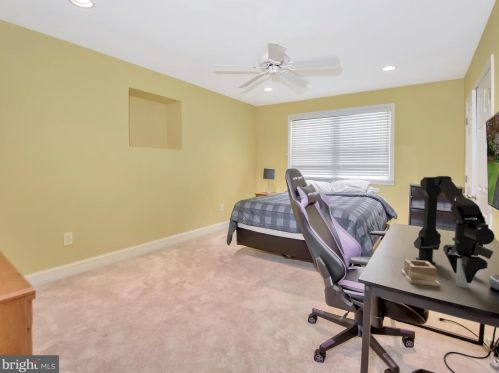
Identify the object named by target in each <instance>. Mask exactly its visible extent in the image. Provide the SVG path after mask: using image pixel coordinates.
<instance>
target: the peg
mask: <svg viewBox="0 0 499 373" xmlns="http://www.w3.org/2000/svg"><path fill="white" fill-rule="evenodd" d="M461 264H462V258H458V259H457V273H456V277H455V280H456V281H455V285H456V286H457V287H458V288H463V289H467V288H468V287H469V283H467V281H466V278H465V275H464V272H463V269H462V265H461Z"/></svg>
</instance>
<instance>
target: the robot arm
mask: <svg viewBox="0 0 499 373" xmlns="http://www.w3.org/2000/svg"><path fill="white" fill-rule="evenodd" d="M419 184H420V191H421V192H422V194H423V196H424V205H423V226H422V227H421V229H420V230H419V231H418V234H417V235H418V236H417V238H416V239H415V240H414V242H413V246H414V248H416V249H417V250H418V257H415V260H421V261H428V262H429V263H431V264H432V265H437V262H435V261H434V250H435V251H439V249H440V246H441V243H442V242H441V238H442V235H441V233H440V232H438V229H437V215H438V200H439V198H438V197H440V195H441V194H442V193H443V194H444V196H445V197H446V199H447V200H448V202H449V203H450V204H451V205H450V211H451V213H452V215H453V217H454V219H452V223H455V224H454V225H455V227H454V228H455V229H454V237H452V241H454V244H444V246H443V247H442V248H443V249H442V250H443V252H444V254H445V257H446V258H447V260H448V262H449V264H450V267H451V269H452V271H453V273H454V274H457V259H458V258H462V264H461V265H462V269H463V272H464V275H465V278H466V281H467V283H468V284H471V283H472V282H473V280H474V278H475V276H476V275H477V274H478V272H479V271H480V270H481V271H482V270H485V269H488V268H489V267H488V266H489V264H488V262H487V261H486V260H485V259H484V258H486V259H487V260H491V258H492V256H493V254H494V250H491V249H489V248H487V247H485V245H489V244H491V243H493V241H494V240H495V233H494V231H493V230H492V229H491V228H489V224H487V222H486V217H485V216H484V215H483V213H482V210H481V208H480V206H479V205H478V204H477V203H476V202H475V201H474V200H473V199H471V198H468V197H466V196H465V195H464V194H463V193H462V191H461V190H460V189H459V188H458V187H457V185H456V184H455V183H454V182H453V180H452V177H451V176H449V175H438V176H424V177H422V179H421V180H420V182H419ZM472 255H473V256H472ZM482 257H484V258H482Z"/></svg>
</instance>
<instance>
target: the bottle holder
mask: <svg viewBox="0 0 499 373" xmlns="http://www.w3.org/2000/svg"><path fill="white" fill-rule="evenodd" d="M403 264H404V267H403V268H404V269H402V268H401V269H400V272H401V274H402V275H403V276H404V277H405V279H406V280H407V281H408V282H409V284H411V285H413V284H414V285H424V286H425V285H426V286H436V287H440V286H441V283H440V282H439V281H438V280H437V267H435V266H434V264H431V263H429V262H428V261H421V260H417V259H404V263H403Z"/></svg>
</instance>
